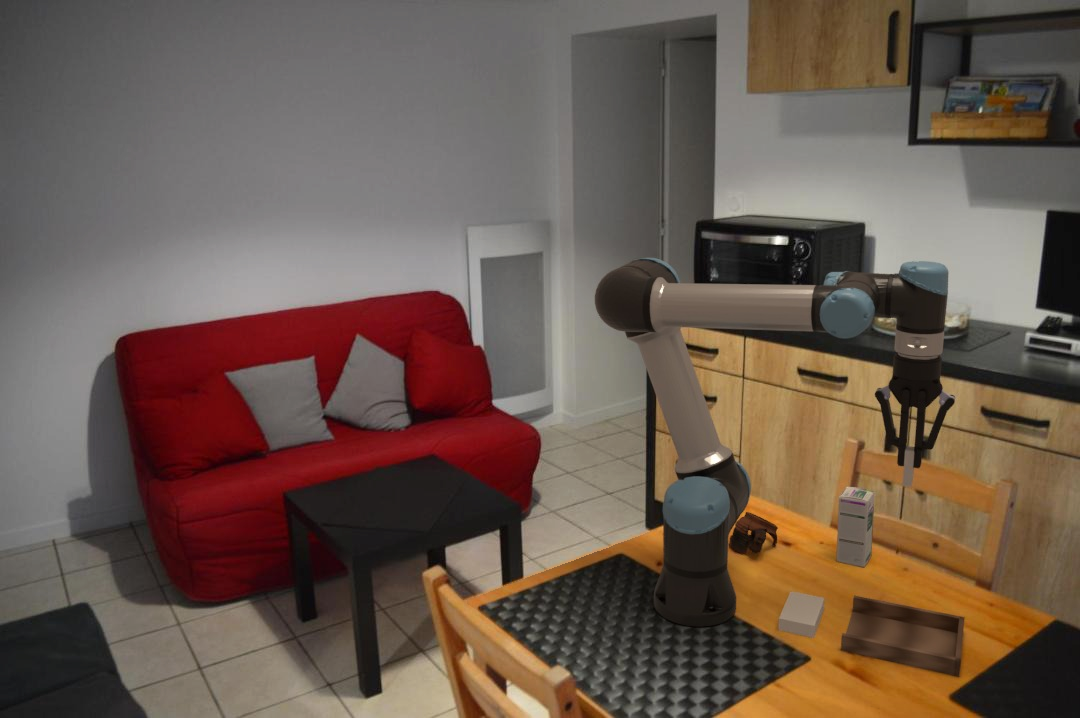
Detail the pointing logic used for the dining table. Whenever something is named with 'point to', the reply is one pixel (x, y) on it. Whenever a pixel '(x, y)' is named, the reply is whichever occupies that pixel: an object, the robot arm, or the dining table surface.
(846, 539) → the syrup box
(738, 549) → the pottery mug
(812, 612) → the light grey block
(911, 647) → the walnut box
